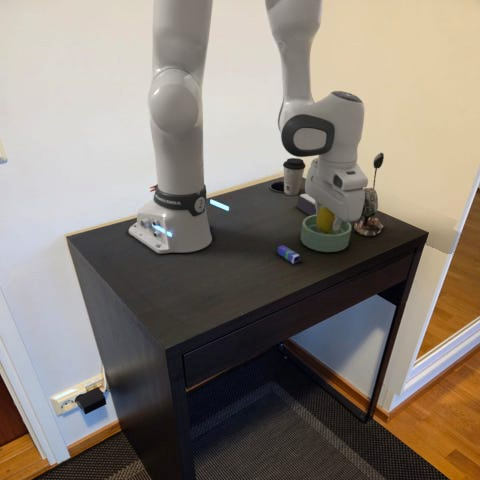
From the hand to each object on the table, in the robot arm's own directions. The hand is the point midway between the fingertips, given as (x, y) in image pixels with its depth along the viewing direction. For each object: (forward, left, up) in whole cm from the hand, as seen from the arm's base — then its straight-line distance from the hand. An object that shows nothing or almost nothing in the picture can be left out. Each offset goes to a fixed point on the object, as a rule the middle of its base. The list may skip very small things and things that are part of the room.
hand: (327, 223), depth 112 cm
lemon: (0, 0, -3) cm, 3 cm away
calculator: (-9, +19, -5) cm, 22 cm away
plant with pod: (+6, +13, -5) cm, 15 cm away
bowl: (0, 0, -5) cm, 5 cm away
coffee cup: (-24, +23, -5) cm, 34 cm away
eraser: (-3, -13, -5) cm, 14 cm away
